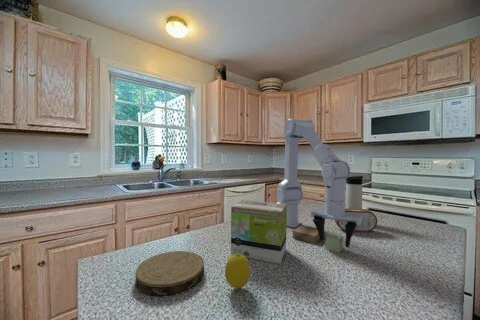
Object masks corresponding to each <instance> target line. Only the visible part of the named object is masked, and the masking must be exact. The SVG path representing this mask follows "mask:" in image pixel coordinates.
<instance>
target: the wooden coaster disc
mask: <svg viewBox="0 0 480 320" xmlns="http://www.w3.org/2000/svg"><path fill="white" fill-rule="evenodd" d="M204 276H205V260H204V259H203V258H202V256H201V255H200V254H197V253H195V252H190V251H185V250H183V251H182V250H180V251H179V250H176V251H174V250H173V251H169V252H162V253H159V254H156V255H153V256H150V257H149V258H147V259H145V260H143V261H142V262H141V263H140V264H139V265H138V266H137V267H136V270H135V287H136V290H138V291H139V292H140V293H141V294H143V295H145V296H148V297H152V296H153V297H155V298H166V297H165V296H167V297H174V296H177V295H176V294H178V295H180V293H181V294H183V293H182V292H184V293H186V292H188V291H190V290H192V289H194V288H196V287H197V286H198V285H199V284H200V283H201V282H202V280H203V279H204ZM193 287H194V288H193ZM173 295H174V296H173Z"/></svg>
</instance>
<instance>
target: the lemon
mask: <svg viewBox="0 0 480 320" xmlns="http://www.w3.org/2000/svg"><path fill="white" fill-rule="evenodd" d="M249 263H250V262H249V259H247V257H245V256H243V255H241V254H239V253H236V254H234V255H231V256H229V258H228V259H227V261H226V264H225V270H224V273H225V274H224V275H225V280H226V282H227V284H229V286H230V287H232V288H234V289H236V290H240V289H242V288H244V287H245V286H246V285H247V283H248V282H249V280H250V277H251V268H250V267H251V266H250V264H249Z"/></svg>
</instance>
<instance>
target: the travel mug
mask: <svg viewBox="0 0 480 320" xmlns="http://www.w3.org/2000/svg"><path fill="white" fill-rule="evenodd" d="M363 178H364V176H363V175H358V176H356V175H355V176H349V177H348V178H347V179H345V209H363Z"/></svg>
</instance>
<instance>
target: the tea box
mask: <svg viewBox="0 0 480 320" xmlns="http://www.w3.org/2000/svg"><path fill="white" fill-rule="evenodd" d="M230 212H231V213H230V255H231V256H232V255H234V254H236V253H239V254H241V255H243V256H245V257H246V258H248V259H255V260H258V261H265V262H269V263H274V264H278V265H280V264H282V260H283V257H284V256H285V252H286V248H287V226H286V225H287V204H278V203H277V202H267V201H255V200H244V199H243V200H240V201H239V202H237V203H236V204H234V205H232V206H231V208H230Z"/></svg>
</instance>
